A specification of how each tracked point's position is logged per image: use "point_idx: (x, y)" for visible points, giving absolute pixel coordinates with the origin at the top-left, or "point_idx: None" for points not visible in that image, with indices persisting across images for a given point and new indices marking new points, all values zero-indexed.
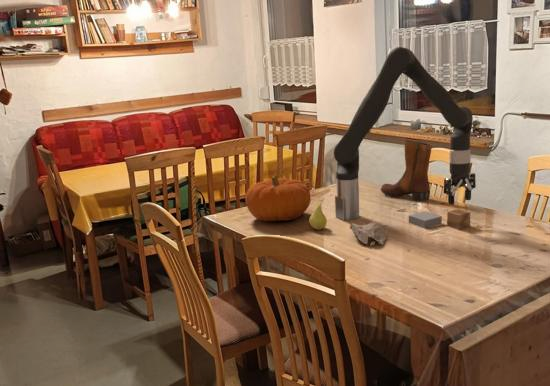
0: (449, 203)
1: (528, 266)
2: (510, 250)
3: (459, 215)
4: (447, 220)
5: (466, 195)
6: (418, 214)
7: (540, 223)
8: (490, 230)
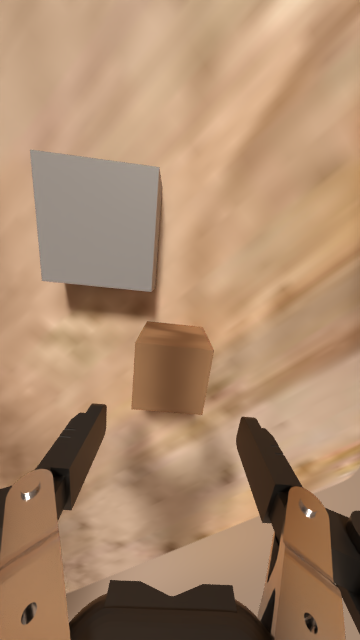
0: (92, 408)
1: (76, 568)
2: (119, 519)
3: (134, 408)
4: (143, 329)
5: (251, 451)
6: (85, 182)
7: (342, 472)
8: (208, 428)
